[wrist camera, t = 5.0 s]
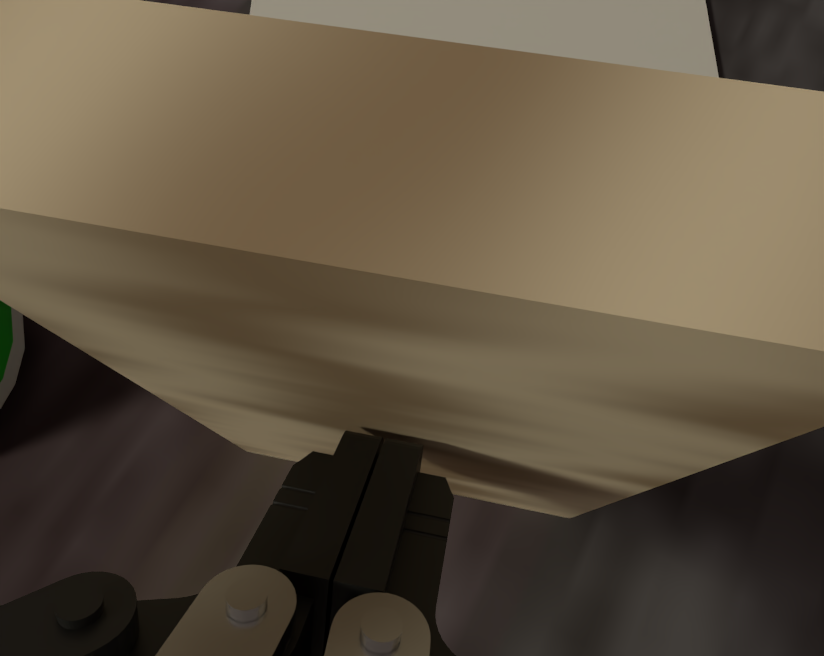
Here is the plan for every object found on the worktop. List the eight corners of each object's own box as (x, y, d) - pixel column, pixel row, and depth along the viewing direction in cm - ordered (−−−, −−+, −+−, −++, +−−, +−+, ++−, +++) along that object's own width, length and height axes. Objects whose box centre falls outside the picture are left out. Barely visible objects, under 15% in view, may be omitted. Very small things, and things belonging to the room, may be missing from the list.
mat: (700, -1, 26) (703, -9, 25) (760, 356, 20) (766, 352, 20) (255, 2, 26) (252, -6, 26) (203, 347, 21) (198, 343, 21)
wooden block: (579, 434, 20) (939, 102, 6) (569, 518, 19) (964, 376, 5) (269, 373, 21) (-81, -34, 7) (246, 451, 20) (-211, 171, 6)
